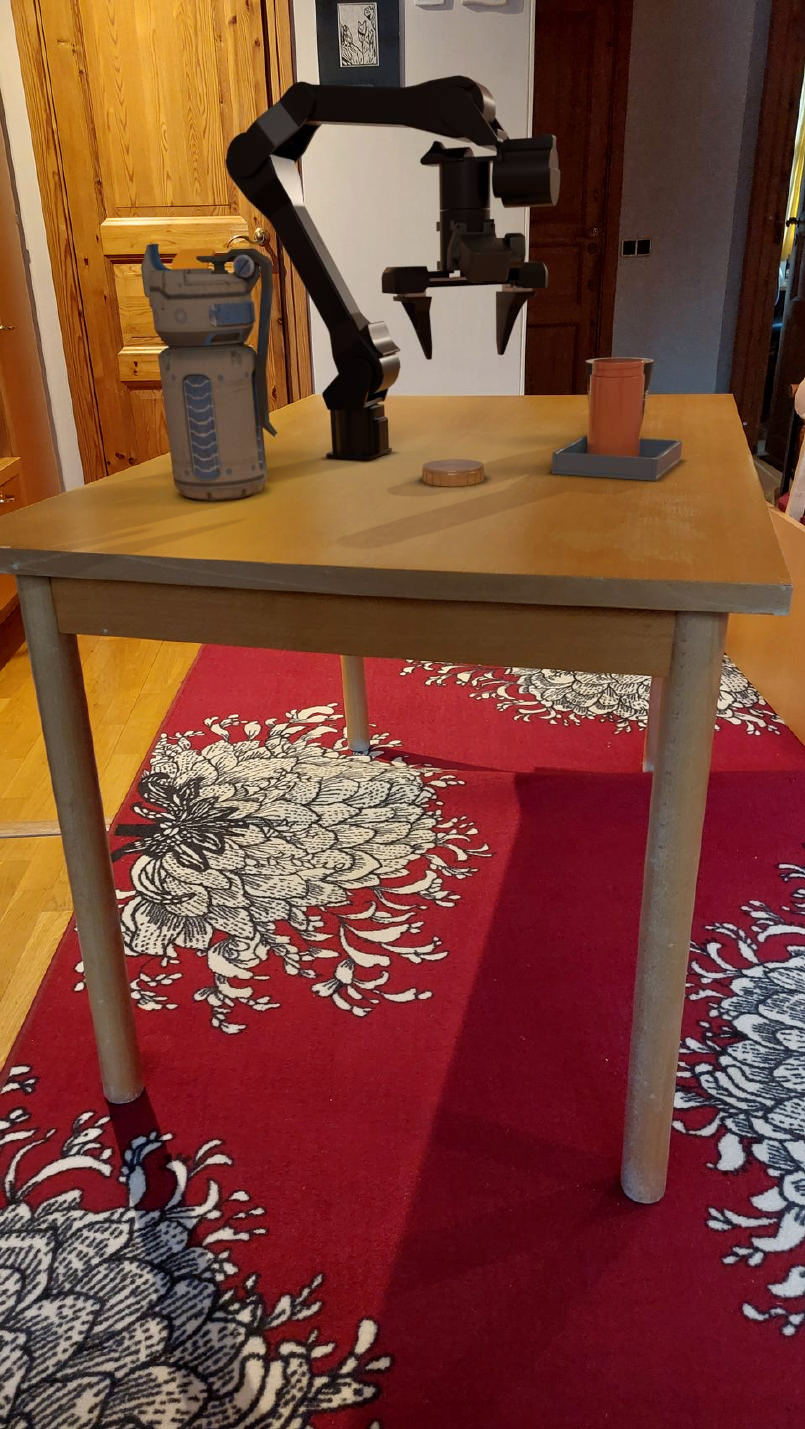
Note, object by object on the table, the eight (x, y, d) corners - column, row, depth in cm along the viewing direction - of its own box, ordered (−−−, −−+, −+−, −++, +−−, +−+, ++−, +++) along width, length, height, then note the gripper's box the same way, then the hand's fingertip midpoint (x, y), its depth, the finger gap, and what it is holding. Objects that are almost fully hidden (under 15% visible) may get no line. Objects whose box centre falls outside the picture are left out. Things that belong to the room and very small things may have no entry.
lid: (485, 486, 108) (485, 470, 107) (422, 487, 108) (422, 472, 107) (482, 473, 114) (482, 458, 113) (422, 474, 114) (422, 459, 114)
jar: (608, 472, 111) (615, 364, 106) (575, 463, 116) (580, 360, 111) (649, 465, 113) (657, 360, 108) (615, 457, 118) (621, 356, 113)
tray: (551, 474, 113) (552, 452, 112) (583, 455, 122) (584, 435, 121) (656, 481, 108) (657, 459, 107) (680, 460, 117) (682, 440, 116)
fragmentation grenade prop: (278, 503, 103) (256, 240, 92) (157, 504, 105) (121, 244, 94) (298, 482, 112) (280, 240, 102) (185, 483, 114) (156, 244, 103)
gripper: (409, 208, 101) (412, 368, 107) (572, 205, 106) (566, 358, 113) (377, 213, 110) (383, 360, 117) (528, 210, 115) (525, 350, 122)
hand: (465, 357), depth 117 cm, fingers open, 9 cm apart
